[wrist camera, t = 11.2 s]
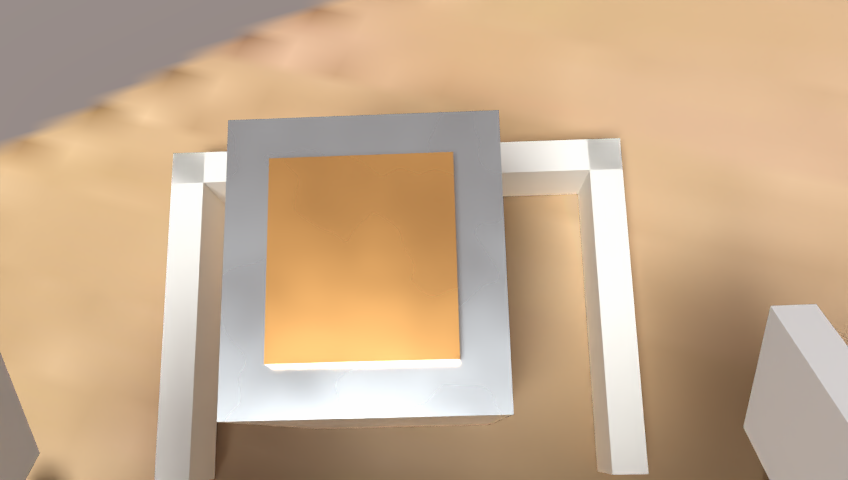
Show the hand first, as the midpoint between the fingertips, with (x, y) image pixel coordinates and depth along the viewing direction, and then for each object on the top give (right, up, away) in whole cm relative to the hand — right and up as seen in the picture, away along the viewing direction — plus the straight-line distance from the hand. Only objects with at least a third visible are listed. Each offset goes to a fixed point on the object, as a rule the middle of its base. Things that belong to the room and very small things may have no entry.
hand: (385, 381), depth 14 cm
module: (0, -1, +12) cm, 12 cm away
